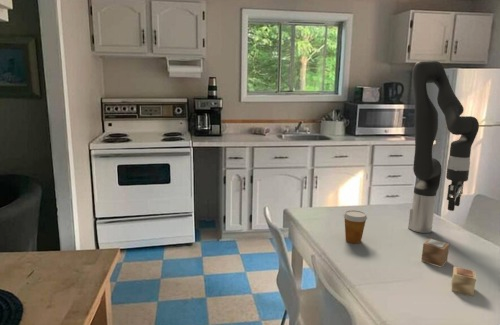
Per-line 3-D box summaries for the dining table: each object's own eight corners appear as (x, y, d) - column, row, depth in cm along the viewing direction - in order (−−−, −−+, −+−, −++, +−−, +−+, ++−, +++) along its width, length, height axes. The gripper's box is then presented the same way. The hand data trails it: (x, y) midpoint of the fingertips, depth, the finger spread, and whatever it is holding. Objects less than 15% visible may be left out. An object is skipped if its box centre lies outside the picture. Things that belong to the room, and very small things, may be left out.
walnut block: (421, 261, 140) (423, 243, 138) (427, 255, 145) (429, 237, 144) (441, 267, 135) (443, 248, 134) (447, 261, 140) (449, 243, 139)
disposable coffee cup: (366, 238, 160) (368, 211, 158) (363, 246, 152) (365, 218, 149) (344, 234, 164) (346, 208, 162) (339, 242, 155) (341, 214, 153)
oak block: (451, 291, 119) (454, 273, 118) (451, 283, 125) (453, 265, 123) (473, 296, 117) (476, 278, 116) (472, 287, 122) (474, 270, 121)
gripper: (452, 164, 153) (447, 202, 156) (442, 169, 142) (438, 209, 145) (473, 166, 148) (468, 206, 151) (464, 172, 138) (459, 214, 141)
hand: (453, 207), depth 148 cm, fingers open, 8 cm apart
